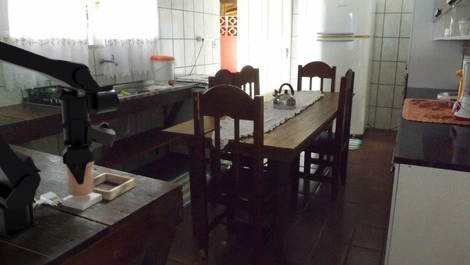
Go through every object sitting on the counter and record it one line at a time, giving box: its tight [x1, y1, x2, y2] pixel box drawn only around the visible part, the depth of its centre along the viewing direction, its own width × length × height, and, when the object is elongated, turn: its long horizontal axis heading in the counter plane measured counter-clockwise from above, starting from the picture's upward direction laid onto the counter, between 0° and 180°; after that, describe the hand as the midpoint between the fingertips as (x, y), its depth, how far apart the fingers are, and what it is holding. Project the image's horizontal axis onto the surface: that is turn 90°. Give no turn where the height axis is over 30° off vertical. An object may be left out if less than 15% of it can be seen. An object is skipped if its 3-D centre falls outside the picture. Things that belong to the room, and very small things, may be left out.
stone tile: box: [61, 192, 103, 211], centre depth 91 cm, size 6×6×2 cm
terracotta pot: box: [64, 160, 95, 196], centre depth 90 cm, size 6×6×8 cm
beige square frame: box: [93, 172, 137, 201], centre depth 99 cm, size 10×10×2 cm
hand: (80, 179), depth 90 cm, fingers closed on terracotta pot, 6 cm apart
